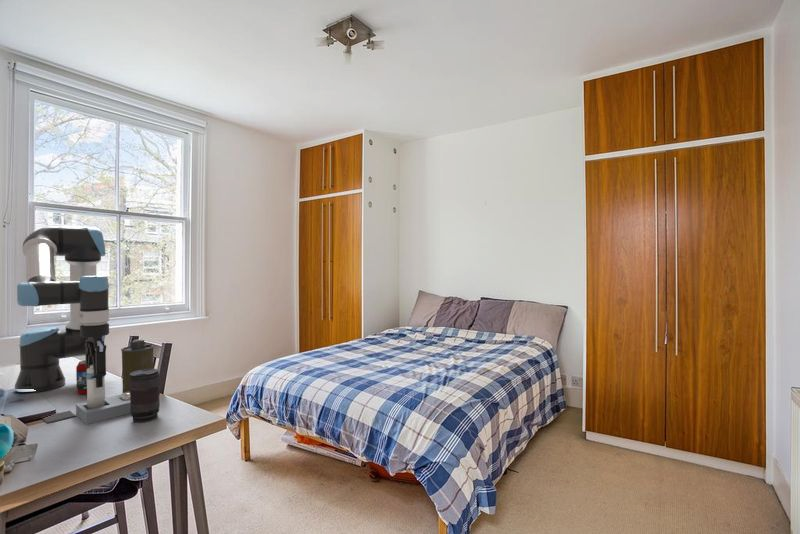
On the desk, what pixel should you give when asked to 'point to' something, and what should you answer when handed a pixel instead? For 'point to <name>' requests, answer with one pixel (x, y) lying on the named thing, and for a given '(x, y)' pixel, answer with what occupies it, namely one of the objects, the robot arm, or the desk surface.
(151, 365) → the canister
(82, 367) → the beverage can
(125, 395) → the plunger
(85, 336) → the robot arm
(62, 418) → the mat
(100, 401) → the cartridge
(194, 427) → the desk surface
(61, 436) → the desk surface
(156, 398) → the camera lens
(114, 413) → the block
